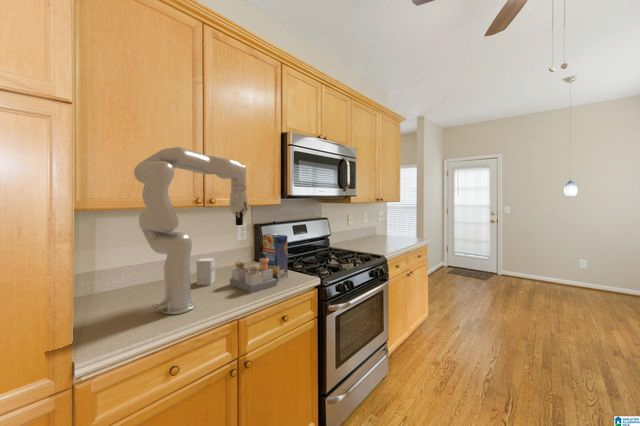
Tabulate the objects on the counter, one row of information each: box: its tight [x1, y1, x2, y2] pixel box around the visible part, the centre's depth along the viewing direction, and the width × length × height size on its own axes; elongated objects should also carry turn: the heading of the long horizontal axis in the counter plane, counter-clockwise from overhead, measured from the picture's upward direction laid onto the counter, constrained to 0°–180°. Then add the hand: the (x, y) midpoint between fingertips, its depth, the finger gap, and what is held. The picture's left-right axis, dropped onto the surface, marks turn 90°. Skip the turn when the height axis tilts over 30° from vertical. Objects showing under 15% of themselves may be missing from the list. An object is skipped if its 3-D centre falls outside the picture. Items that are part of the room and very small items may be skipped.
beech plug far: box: [234, 260, 246, 271], centre depth 150 cm, size 5×5×9 cm
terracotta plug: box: [259, 257, 269, 271], centre depth 149 cm, size 5×5×9 cm
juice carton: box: [262, 233, 289, 282], centre depth 161 cm, size 12×8×24 cm, turn 51°
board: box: [229, 267, 278, 294], centre depth 149 cm, size 16×19×8 cm
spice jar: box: [248, 263, 260, 275], centre depth 142 cm, size 5×5×9 cm
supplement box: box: [196, 257, 216, 286], centre depth 151 cm, size 7×7×13 cm
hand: (239, 224), depth 148 cm, fingers closed
